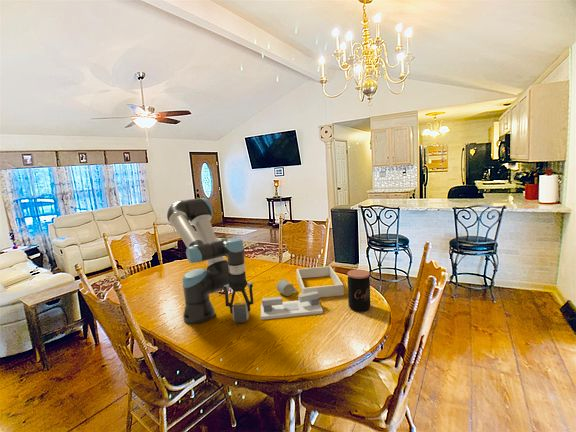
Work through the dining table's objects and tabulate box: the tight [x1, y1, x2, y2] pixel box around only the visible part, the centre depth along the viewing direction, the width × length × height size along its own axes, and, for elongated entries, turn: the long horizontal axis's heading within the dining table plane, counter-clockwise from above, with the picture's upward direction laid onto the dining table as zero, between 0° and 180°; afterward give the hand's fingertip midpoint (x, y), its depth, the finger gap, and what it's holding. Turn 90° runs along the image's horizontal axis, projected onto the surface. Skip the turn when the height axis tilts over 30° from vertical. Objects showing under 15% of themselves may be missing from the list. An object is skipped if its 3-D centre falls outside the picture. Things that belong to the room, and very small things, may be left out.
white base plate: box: [260, 291, 324, 321], centre depth 159 cm, size 30×14×7 cm, turn 95°
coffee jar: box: [346, 268, 371, 313], centre depth 155 cm, size 11×11×18 cm
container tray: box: [296, 265, 345, 299], centre depth 187 cm, size 22×32×6 cm
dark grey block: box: [233, 302, 248, 324], centre depth 149 cm, size 6×6×8 cm
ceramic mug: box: [276, 279, 298, 297], centre depth 179 cm, size 11×8×8 cm
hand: (241, 318), depth 150 cm, fingers closed on dark grey block, 5 cm apart
